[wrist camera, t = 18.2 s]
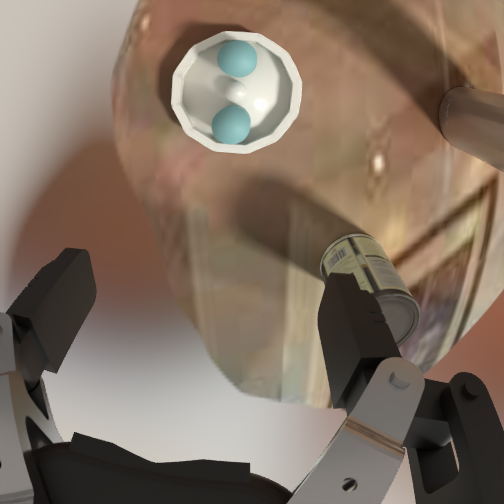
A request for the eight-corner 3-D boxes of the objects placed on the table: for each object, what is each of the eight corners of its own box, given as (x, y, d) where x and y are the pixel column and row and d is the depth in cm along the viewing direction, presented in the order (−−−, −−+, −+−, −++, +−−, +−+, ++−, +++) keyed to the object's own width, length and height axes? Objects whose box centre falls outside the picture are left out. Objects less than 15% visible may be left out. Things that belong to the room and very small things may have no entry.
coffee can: (367, 295, 48) (394, 360, 36) (310, 284, 47) (325, 354, 35) (395, 241, 43) (436, 301, 31) (334, 224, 42) (363, 287, 30)
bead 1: (258, 46, 30) (258, 41, 26) (255, 78, 32) (255, 77, 28) (222, 44, 29) (218, 39, 26) (220, 76, 32) (215, 75, 28)
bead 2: (252, 106, 33) (251, 109, 30) (249, 138, 35) (248, 145, 32) (217, 104, 33) (212, 106, 29) (215, 136, 35) (210, 143, 31)
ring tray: (307, 40, 30) (310, 37, 28) (292, 156, 37) (294, 161, 35) (179, 31, 29) (174, 28, 27) (172, 147, 37) (167, 151, 35)
